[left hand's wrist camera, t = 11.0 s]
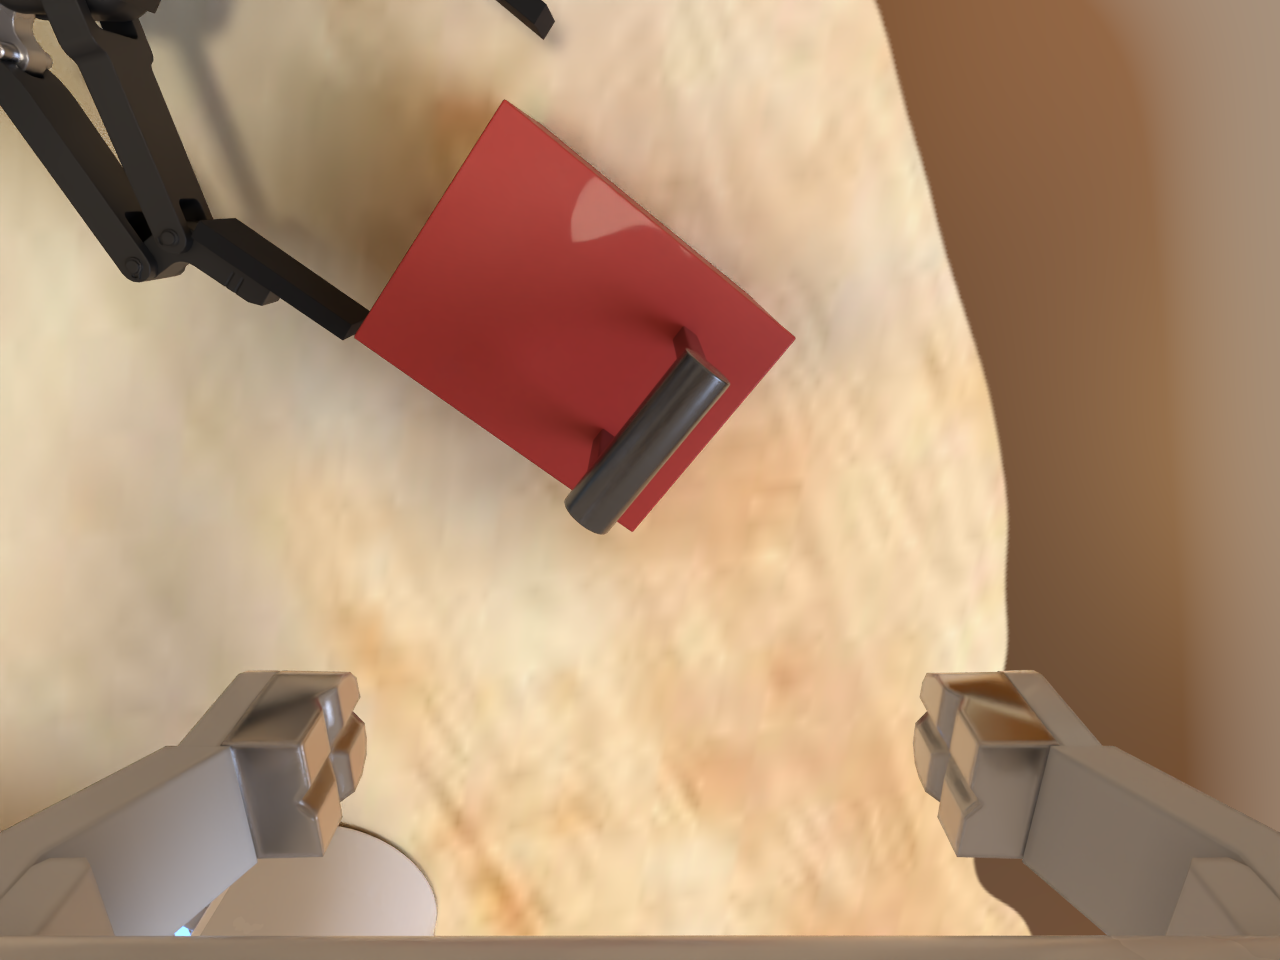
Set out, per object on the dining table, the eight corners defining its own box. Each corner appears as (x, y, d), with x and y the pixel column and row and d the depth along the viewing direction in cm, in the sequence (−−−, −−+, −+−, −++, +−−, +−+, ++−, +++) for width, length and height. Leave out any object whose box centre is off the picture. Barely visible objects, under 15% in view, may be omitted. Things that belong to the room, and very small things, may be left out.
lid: (792, 334, 29) (848, 386, 21) (632, 524, 31) (630, 631, 24) (508, 101, 26) (451, 61, 18) (360, 333, 29) (257, 385, 21)
